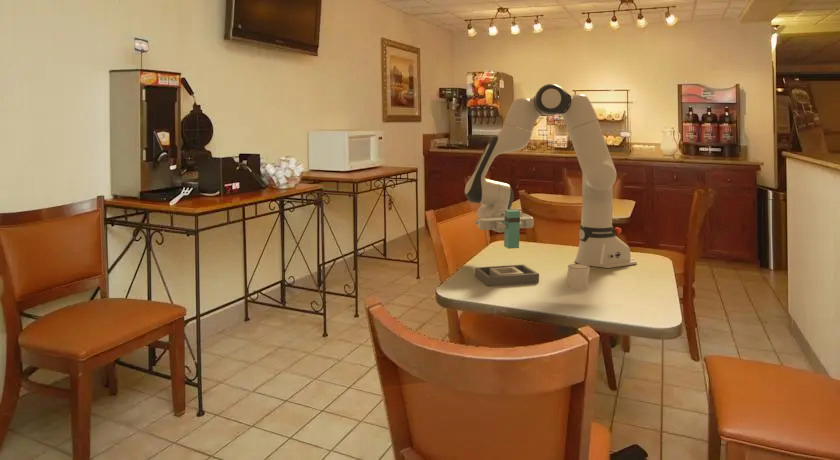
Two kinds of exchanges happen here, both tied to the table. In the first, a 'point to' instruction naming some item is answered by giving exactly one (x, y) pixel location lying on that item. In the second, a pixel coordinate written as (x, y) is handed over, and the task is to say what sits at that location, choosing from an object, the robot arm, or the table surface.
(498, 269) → the grey tray
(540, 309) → the table surface
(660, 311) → the table surface
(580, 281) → the beige cylinder
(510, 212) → the plug
